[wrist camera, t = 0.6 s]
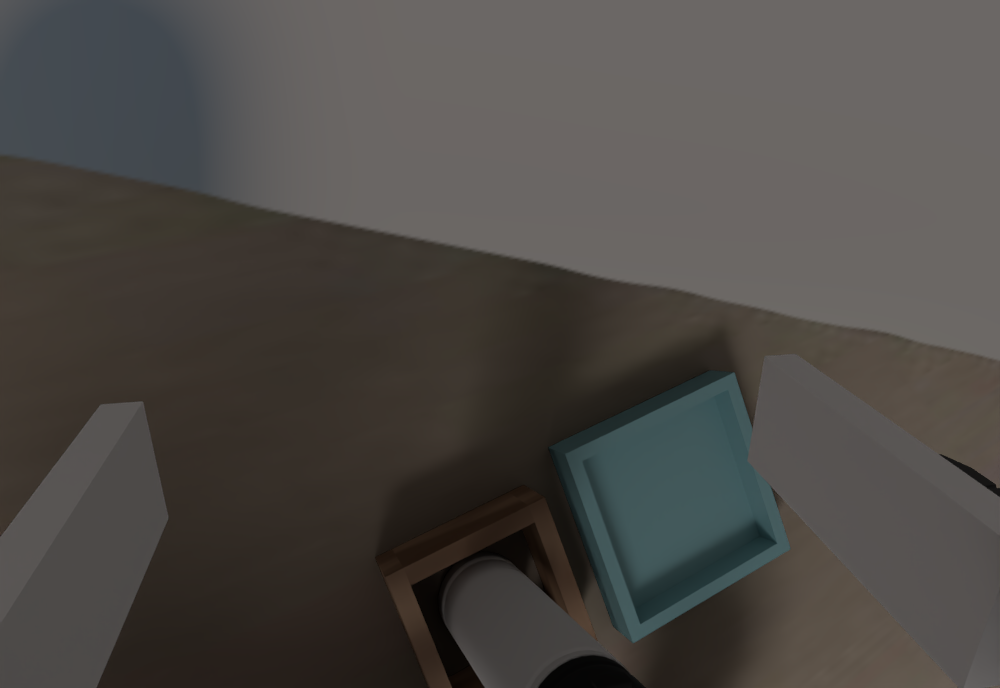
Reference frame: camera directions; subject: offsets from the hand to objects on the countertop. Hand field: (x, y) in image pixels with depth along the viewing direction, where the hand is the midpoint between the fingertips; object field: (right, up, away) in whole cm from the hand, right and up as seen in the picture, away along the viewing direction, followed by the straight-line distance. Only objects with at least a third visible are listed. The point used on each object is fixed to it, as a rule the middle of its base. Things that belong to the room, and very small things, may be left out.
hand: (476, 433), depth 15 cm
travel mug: (-1, -16, +35) cm, 38 cm away
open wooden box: (-1, -16, +35) cm, 38 cm away
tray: (+13, -10, +39) cm, 43 cm away
